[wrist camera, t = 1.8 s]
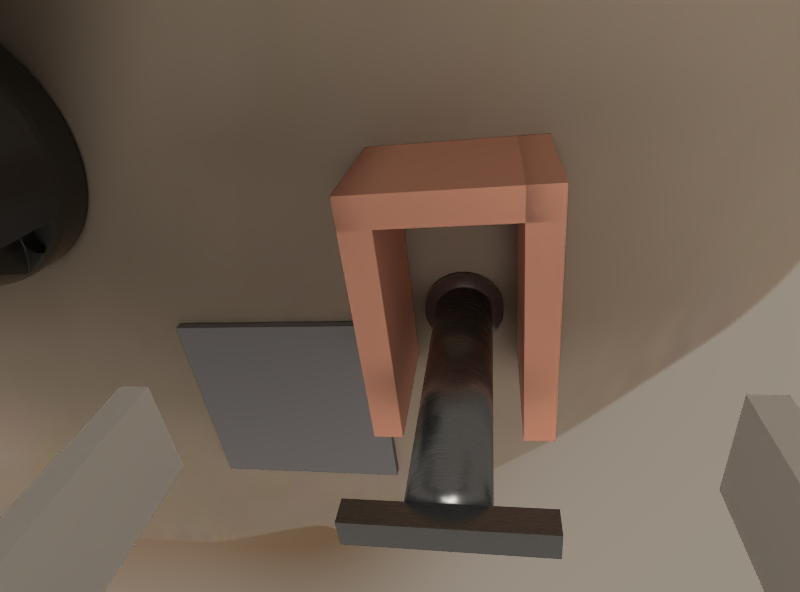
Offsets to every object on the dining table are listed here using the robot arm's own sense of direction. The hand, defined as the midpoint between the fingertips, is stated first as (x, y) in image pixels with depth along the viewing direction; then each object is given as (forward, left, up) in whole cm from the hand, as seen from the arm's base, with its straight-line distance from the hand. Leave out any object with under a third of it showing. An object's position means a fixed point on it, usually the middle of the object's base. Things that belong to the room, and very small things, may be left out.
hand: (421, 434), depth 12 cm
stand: (0, -7, -17) cm, 19 cm away
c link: (0, -4, -18) cm, 18 cm away
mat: (-12, -15, -17) cm, 26 cm away
